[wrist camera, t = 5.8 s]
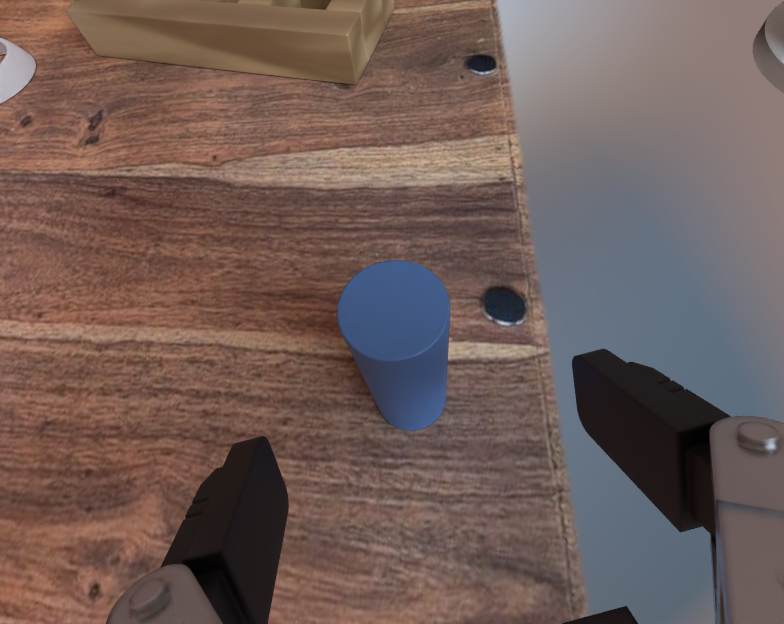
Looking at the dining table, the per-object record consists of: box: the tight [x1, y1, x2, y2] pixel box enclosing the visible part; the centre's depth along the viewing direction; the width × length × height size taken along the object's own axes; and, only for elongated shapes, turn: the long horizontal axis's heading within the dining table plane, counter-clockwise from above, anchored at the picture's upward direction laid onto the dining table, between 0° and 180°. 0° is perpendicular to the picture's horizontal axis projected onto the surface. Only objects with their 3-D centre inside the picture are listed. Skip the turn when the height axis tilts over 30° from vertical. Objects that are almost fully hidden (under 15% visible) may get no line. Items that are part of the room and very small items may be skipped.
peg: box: [337, 260, 450, 431], centre depth 16 cm, size 3×3×9 cm
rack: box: [65, 0, 394, 85], centre depth 33 cm, size 9×23×4 cm, turn 73°
